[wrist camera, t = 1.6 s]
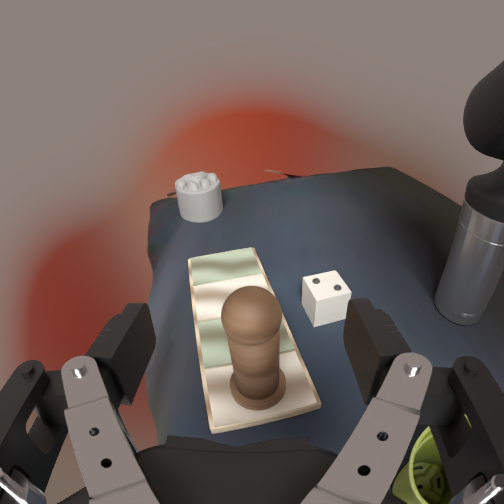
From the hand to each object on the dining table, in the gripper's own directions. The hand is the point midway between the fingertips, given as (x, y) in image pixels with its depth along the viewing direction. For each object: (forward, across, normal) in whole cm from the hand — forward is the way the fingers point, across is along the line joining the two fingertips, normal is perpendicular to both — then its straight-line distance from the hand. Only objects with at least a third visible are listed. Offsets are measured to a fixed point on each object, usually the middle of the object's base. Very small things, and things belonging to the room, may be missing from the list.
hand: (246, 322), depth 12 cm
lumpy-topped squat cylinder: (+61, +13, +10) cm, 64 cm away
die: (+27, -9, +17) cm, 33 cm away
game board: (+25, +3, +17) cm, 31 cm away
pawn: (+14, 0, +18) cm, 23 cm away
